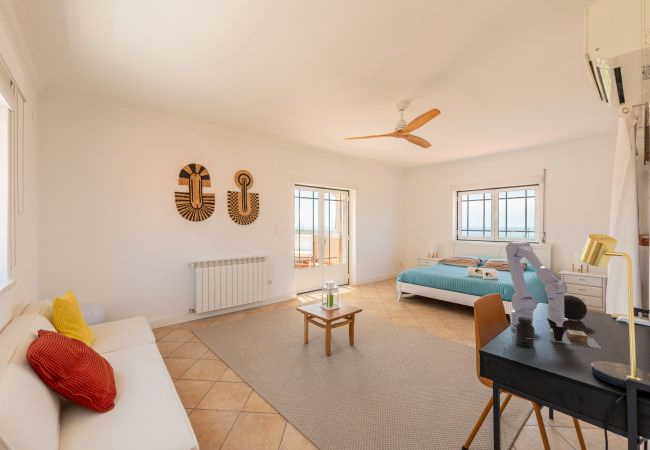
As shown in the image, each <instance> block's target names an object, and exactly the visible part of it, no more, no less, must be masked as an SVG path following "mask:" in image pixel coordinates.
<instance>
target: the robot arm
mask: <svg viewBox="0 0 650 450" xmlns="http://www.w3.org/2000/svg"><path fill="white" fill-rule="evenodd" d="M505 252H506V260H507V264H508V265H507V266H508V269H509V273H510V277H511V281H512V285H513V289H514V293H513V295H512V296H511V300H512V301H511V307H512V308H513V310H512V309H511V311H510V326H511V325H512V326H511V329H512V330H514V331H516V324H517V323H519V322H518V318H519V317H526V318H530V319H531V320H532V324H531V325H532V326H533V327H534V312H535V310H536V309H537V307H538V306H537V305H538V304H537V302H536V300H535V297H534V295H533V294H532V293H530V291H528V287H527V284H526V279H525V276H524V271H523V268H522V265H521V264H522V263H521V260H522V259H523V258H525V259H526V260H527V262H528V263H529V264H530V265H532V267H533V268H534V269H535V275H536V276H537V277H538V278H539V280H540V281H541V282H542V283H543V284H544V288H543V289H544V291H545V293H546V296H547V306H548V307H547V311H548V312H547V313H548V314H547V318H546V320H547V323H548V325H549V328H552V329H553V332H554V337H555V340H556V341H562V338H563V335H565V334H564V333H565V332H566V331H567V330H568V329H567V328H568V326H564V325H563V322H564V321H568V319H567V318H564V296H565V294H566V292H567V291H568V286H567V284H566V282H565V281H563V280H560V279H559V278H558V277H557V276H556V275H555V274H554V273H553V271H552V269H551V268H549V267H547V266H544V265H543V264H542V262H541V260H540V259H539V258H538V256H537V255H536V253H535V252H534V247H533V246H532V245H531V243H529V242H528V241H510V242H508V243H507V245H506V246H505ZM534 333H536V331H535V329H534Z"/></svg>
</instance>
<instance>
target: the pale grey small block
mask: <svg viewBox="0 0 650 450" xmlns="http://www.w3.org/2000/svg"><path fill="white" fill-rule="evenodd" d="M548 331H549V338H550V340H551V342H553V343H560V344H561V343H562V344H564V343H563V338H562V341H556V340H555V337H554V332H553V329H552V328H550V327H549V328H548Z"/></svg>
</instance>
